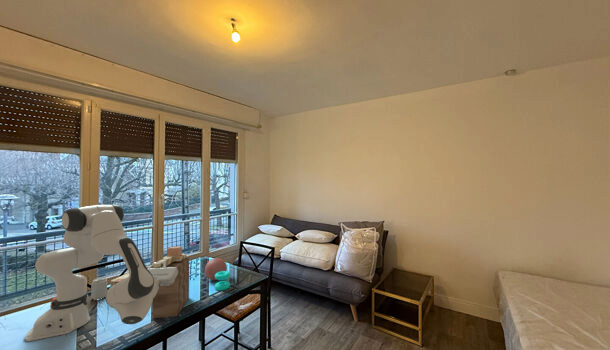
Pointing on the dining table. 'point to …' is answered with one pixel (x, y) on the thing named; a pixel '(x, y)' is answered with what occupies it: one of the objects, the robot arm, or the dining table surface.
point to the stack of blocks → (118, 279)
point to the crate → (174, 251)
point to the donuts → (222, 284)
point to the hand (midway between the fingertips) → (160, 262)
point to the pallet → (168, 260)
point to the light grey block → (99, 288)
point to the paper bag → (173, 292)
